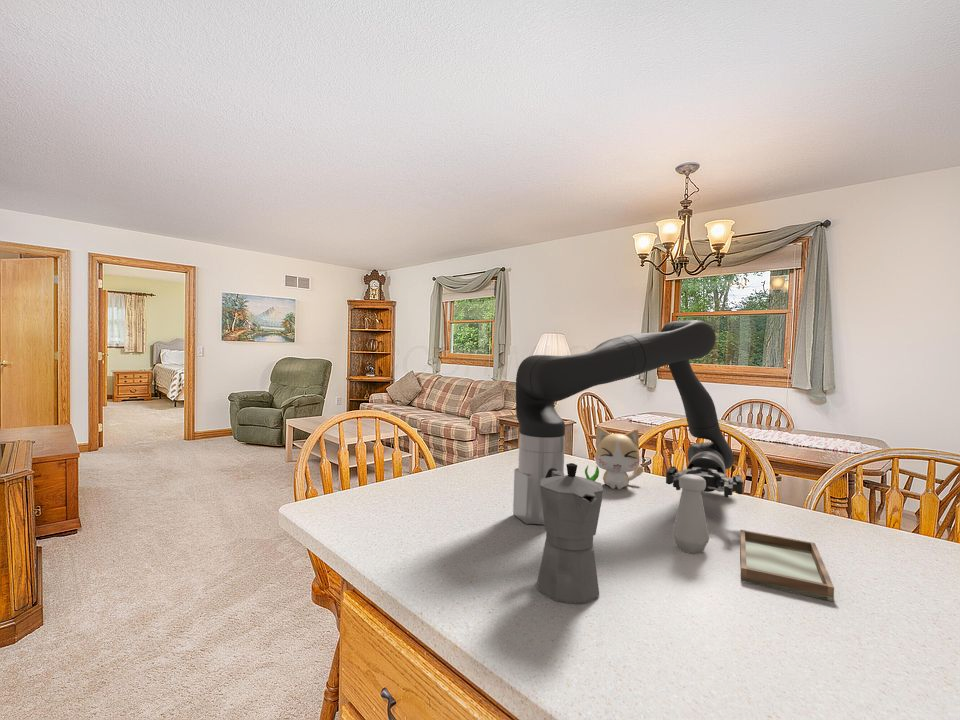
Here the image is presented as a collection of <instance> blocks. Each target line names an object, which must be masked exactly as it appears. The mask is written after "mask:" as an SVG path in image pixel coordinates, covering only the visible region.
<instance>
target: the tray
mask: <svg viewBox="0 0 960 720" xmlns="http://www.w3.org/2000/svg"><path fill="white" fill-rule="evenodd" d="M739 532H740V533H739V551H740V552H739V555H740V556H739V557H740V558H739V559H740V561H739V563H740V582H743V583H744V582H745V583H748V584H754V585H757V586H762V587H767V588H769V589H770V588H771V589H775V590H780V591H784V592H788V593H793V594H796V595H802V596H806V597H810V598H816V599H818V600H824V601H828V602H833V603H834V601H835V599H834V597H835V586H834V584H833V582H832V579H831V577H830V575H829V573H828V570H827V568H826V565H825V563H824V561H823V558H822V556H821V554H820V552H819V549H818V547H817V545H816V543H815V542H812V541H806V540H801V539H796V538H790V537H783V536H778V535H775V534H774V535H772V534H768V533H762V532H758V531H757V532H756V531H752V530H745V529H740V531H739Z"/></svg>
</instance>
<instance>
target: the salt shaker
mask: <svg viewBox="0 0 960 720" xmlns="http://www.w3.org/2000/svg"><path fill="white" fill-rule="evenodd" d="M679 486H680V488H681V493H680V497H679V503H678V507H677V511H676V516H675V520H674V524H673V530H672V536H673V540H674V541H675V545H676V547H677V548H678V549H679V550H680V551H681V552H684V553H687V554H692V555H697V554H703V553H704V552H703V551H705V548H706V546H707V544H708V543H709V541H710V536H709V531H708V524H707V519H706V514H705V509H704V506H705V505H704V502H703V501H704V500H703V496H702V492H704V490H705V488H706V480H705V479H704V478H703V477H701V476H698V475H694V474H684V475H682V476H681V477H680V478H679Z"/></svg>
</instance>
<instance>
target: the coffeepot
mask: <svg viewBox="0 0 960 720" xmlns="http://www.w3.org/2000/svg"><path fill="white" fill-rule="evenodd" d="M565 465H566V471H567V475H566V474H565V473H563V472H561V471H558V470H557V469H555V468H550V469H549V470H548V472H547V474H546V477H545V478H543V479H541V483H540V488H541V497H542V507H543V516H544V531H545V533H546V534H545V541H544V545H543V551H542V556H541V562H540V567H539V571H538V577H537V587H536V588H537V590H538V591H539V592H540V593H541V594H542V595H544V596H545V597H547V598H548V599H550V600H553V601H557V602H560V603H562V604H563V603H564V604H572V605H574V604H575V605H577V604H584V603H585V604H586V603H590V602H592V601H594V600H596V598H597V597H599V596H600V588H599V580H598V573H597V564H596V554H595V547H594V537H595V536H596V534H597V529H598V528H597V527H598V522H599V518H600V513H601V506H602V501H603V495H604V487H603V484H602V483H601V482H599V481H596V480H595V481H592V480H589V479H586V477H582V476H578V475H576V473H577V469H578V464H576V463H573V462H571V463H566V464H565Z"/></svg>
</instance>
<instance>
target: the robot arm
mask: <svg viewBox="0 0 960 720" xmlns="http://www.w3.org/2000/svg"><path fill="white" fill-rule="evenodd" d="M716 337H717V336H716V333H715V330H714V329H713V328H712V326H711V325H710V324H709V323H707V322H705V321H703V320H699V319H698V320H697V319H692V320H691V319H689V320H675V321H670V322H667V323H665V325H664V326H662V327H661V330H660V331H658V332H656V331H655V332H639V333H635V334H634V333H633V334H627V335H626V334H625V335H622V336H618V337H613V338H610V339H607V340H604V341H603V342H601V343H600V344H598V345H597V346H596V347H595V348H593V349H591V350H589V351H586V352H582V353H575V354H568V355H546V354H545V355H543V354H538V355H537V354H536V355H535V354H534V355H530V356H527V357H526V358H524V359H523V360H522V361H521V363H520V365H519V366H518V369H517V372H516V379H515V410H516V411H515V412H516V413H515V414H516V420H517V421H518V426H519V433H518V434H519V440H518V441H519V442H518V443H519V444H518V468H514V474H513V475H514V476H513V501H512V503H513V504H512V505H513V507H512V515H514V516H515V517H516V518H518V519H519V520H520V521H522V522H523V523H524V524H526V525H529V524H530V525H531V524H533V525H544V516H543V507H542V497H541V488H540V483H541V479H543V478H545V477H546V474H547V472H548V470H549V469H550V468H555V469H557V470H558V471H561V472H563V473H564V471H565V469H564V468H565V467H564V466H565V440H566V439H565V437H566V424H565V423H566V422H565V421H564V420H563V418H562V417H561V416H559V414H558V413H557V411H556V409H555V408H556V407H555V402H559V401H563V400H566V399H568V398H570V397H573V396H574V395H578V393H581V392H583V391H586V390H588V389H591V388H593V387H595V386H600V385H604V384H609V383H610V384H611V383H613V382H617V381H621V380H625V379H628V378H632V377H636V376H639V375H641V374H644V373H646V372H651V371H654V370H657V369H659V368H662V367H665V366H668V368H669V370H670V373H671V376H672V378H673V380H674V383H675V386H676V388H677V390H678V392H679V395H680V399H681V401H682V405H683V409H684V414H685V418H686V419H685V420H686V422H687V423H686V424H687V427H688V428H687V429H688V431H689V435H690V436H692V437H694V438H696V439H702V440H708V442H698V443H692V444H690V445H689V446H688V449H687V452H686V453H687V460H688V466H687V467H686V469H683V470H682V471H681V470H679V468H677V466H673V465H672V466H670V467H669V468H668V469H667V470H666V472H665V484H667V485H672V487H673V488H675V490H676V491H680V490H682V488H680V486H679V478H680V477H681V476H682V475H684V474H694V475H698V476H701V477H703V478H704V479H705V480H706V488H705V490H704V491H703V492H704V493H705V492H706V493H711V492H715V491H716V492H719V493H723V498H729V496H733V493H734V492H735V494H736V495H737V494H738V495H744V480H743V477H742V475H741V474H738V473H737V474H734V475H732V477H728V476H727V474H726V470H729V469H731V468H732V467H733V465H734V462H735V455H734V453H733V450H732V448H731V446H730V445H729V444H728V442H727V440H726V438H725V436H724V434H723V433H722V431H721V428H720V423H719V419H718V415H717V410H716V409H717V408H716V405H715V402H714V400H713V398H712V396H711V394H710V393H709V391H708V390H707V389H706V388H705V386H704V385H703V384H702V383H701V381H700V380H699V378H698V377H697V375H696V373H695V372H694V370H693V368H692V366H691V363H690V360H696V359H697V360H698V359H702V358H704V357H706V356H708V355H709V354H710V353H711V351H713V349H714V347H715V344H716V340H717V338H716ZM709 441H710V442H709ZM564 474H565V473H564Z"/></svg>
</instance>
